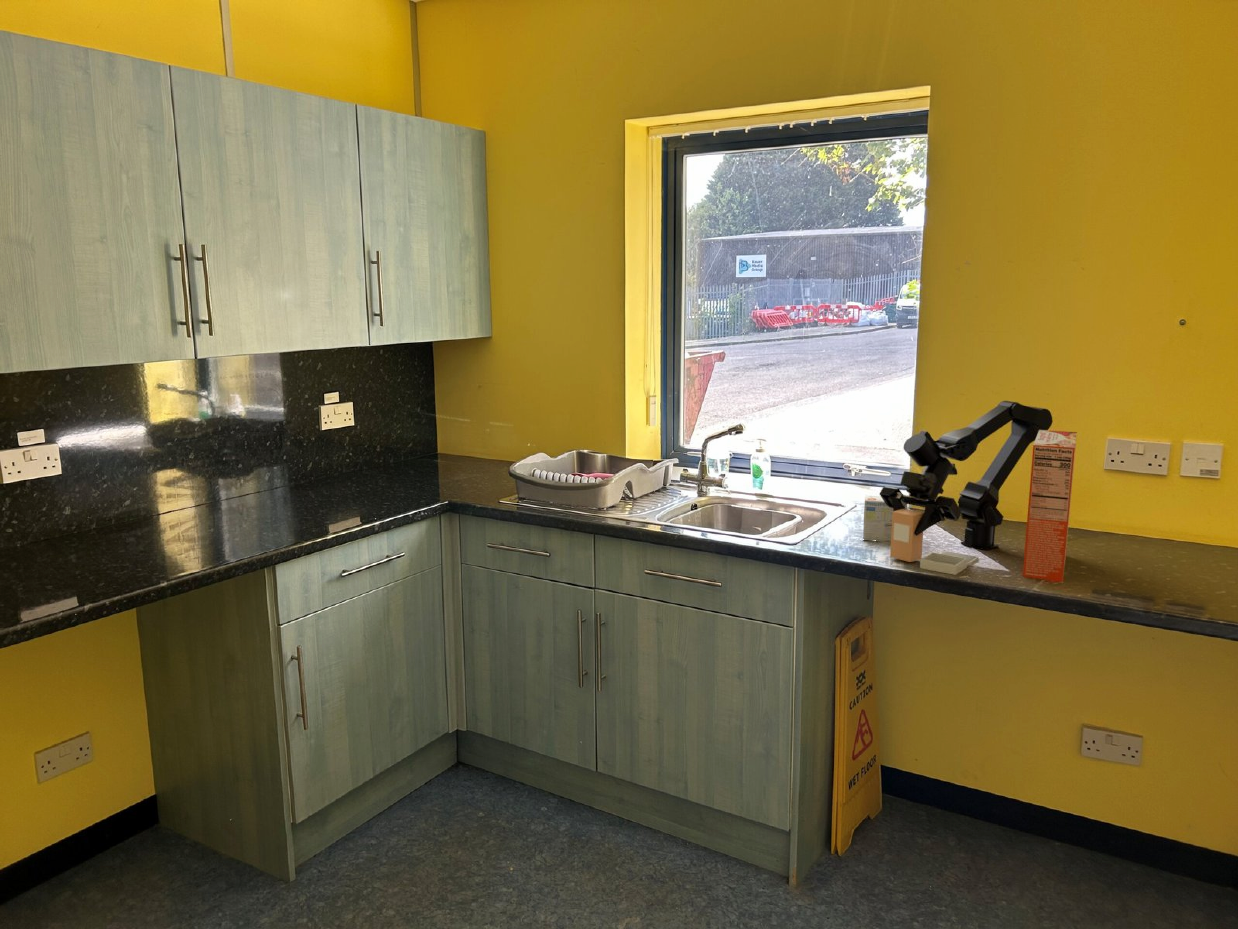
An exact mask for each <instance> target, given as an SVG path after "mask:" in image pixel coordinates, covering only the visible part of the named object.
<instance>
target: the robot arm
mask: <svg viewBox="0 0 1238 929" xmlns="http://www.w3.org/2000/svg"><path fill="white" fill-rule="evenodd" d="M1010 422H1011V423H1010ZM1009 423H1010V428H1011V431H1010V435H1009V436H1008V438H1007V439H1006V441H1005V442H1004V444H1003V445H1002V447H1001V448H1000V449H999V452H998V453H997V454H996V456H995V457H994V458H993V460H992V461H991V463H990V465H989V467H988V468H987V469H986V471H985V472H984V473H983V476H982V477H981V479H980V480H978V481H976V482H973V481H967V483H966V484H965V487H964V488H963V490H962V491H961V492H959V498H958V501H957V502H956V500H955V498H954V497H948V496H943V493H944V491H945V490H944V488H943V486H944V485H945V483H946V481H947V479H948V477H949V475H950V476H951V475H952V476H953V475H954V476H957V475H958V469H957V467H956V464H955V463H952V462H951V461H950V460H955V461H958V462H964V461H966V460H967V459H969V458H970V457H971V456H972V455H973V454H974V453H975V452H976V451H977V448H978V447H979V444H981V442H982V441H984V440H985V439H986V438H987V439H988V438H989V437H990V436H991V435H993V434H994V433H996V432H997V431H998V430H1000V429H1002V428H1003V427H1004V426H1006V425H1007V424H1009ZM1052 424H1053V416H1052V413H1051V411H1050V410H1049V409H1047V408H1043V407H1037V406H1032V405H1031V406H1029V405H1024V404H1021V403H1019V402H1017V401H1011V400H1003V401H1000V402H999V403H997V405H996V406H995V407H994V408H992V409H991V410H989V411H988V412H986V413H984V414H983V415H982V416H980V417H979V418H977V419H976V420H975V421H973V422H972V423H970V424H969V425H967V426H965V427H963V428H958V429H954V430H951V431H949V432H946V433H944V434H943V435H941V436H940V437H939V438H938V439H934V438H933V437H932V436H931V434H930V432H929V431H927V430H920V431H919V433H917V434H914V435H912V436H910V437H909V438H907V439H906V440H905V441H904V444H903V450H904V452H905V453H906V454H907V455H908V456H909V457H910V459H911V460H912V461H913V462H914V463H915V464H916V465H917V467H921V468H923V469H922V471H921V473H918V472H913V471H912V472H911V471H906V470H904V471H903V473H902V476H901V477H902V478H901V480H900V483H899V484H900V485H902V486H904V487H906V488H905V491H906V492H907V493H909V495H907V494H903V492H902V491H901V490H900V488H899V487H893V486H889V485H888V486H887V485H885V486H883V487H882V488H881V490H880V492H879V496H881V497H882V499H883V500H884V502H885V503H886V505H887V506H888V507H890V508H893V511H897V510H900V509H906V508H905V506H906V504H907V505H911V506H914V507H915V506H916V507H921V508H924V512H923V513H924V514H923V516H922V518H921V520H920V521H919V523H918V525H917V527H916V529H915V532H914V534H915V535H916V536H917V535H919V534H920V533H922V532H923V533H924V532H926V530H928V529H929V528H932V527H933V526H934V525H937V524H939V523H940V522H945V521H946V520H950V521H955V522H957V521H959V519H960V517H961V519H962V520H965V521H966V527H965V528H964V540H963V541H960V544H961V545H964V546H966V547H969V548H972V549H975V550H980V551H981V550H988V549H996V548H997V549H998V548H999V544H996V543H995V535H996V527H997V526H1001V525H1002V523H1003V520H1004V515H1003V514H1002V513H1001V512H1000V510H999V509H998V508H997V506H998V504H999V501H1000V497H999V496H1000V489H1001V488H1002V486H1003V485H1004V483H1005V481H1006V480H1007V479H1008V477H1009V476H1010V474H1011V473H1012V472H1013V470H1014V468H1015V467H1016V465H1017V464H1018V462H1019V461H1020V459H1021V458H1022V456H1023V455H1024V453H1025V451H1026V450H1027V449H1028V447H1029V446H1030V445H1031V443H1034V442H1035V439H1036V437H1037V434H1038V431H1039V430H1048V431H1049V430H1050V428H1051V426H1052ZM949 459H950V460H949ZM939 494H940V495H939Z"/></svg>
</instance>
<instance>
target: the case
mask: <svg viewBox="0 0 1238 929" xmlns="http://www.w3.org/2000/svg"><path fill="white" fill-rule="evenodd" d="M967 567H968V566H967V558H962V557H956V556H951V555H945V554H940V553H938V552H932V551H931V552H930V553H929V554H927V555H924V556H922V558H921V559H920V564H919V569H922V570H928V571H932V572H939V573H942V574H948V575H954V576H956V575H958V574H959V573H961V572H962V571H964V570H965V569H967Z"/></svg>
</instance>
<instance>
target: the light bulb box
mask: <svg viewBox="0 0 1238 929" xmlns="http://www.w3.org/2000/svg"><path fill="white" fill-rule="evenodd" d="M864 497H865V498H864V502H863V503H864V506H863V530H862V531H863V532H862V533H863V535H862V540H863V539H864V540H876V541H883V542H891V531H892V512H893V508H890V507H888V506H887V505H886V503H885V502H884V500H883V499H882V497H881V496H880V495H867V494H866V495H865V496H864ZM908 506H909V505H908V504H906V506H905V508H906V509H908ZM876 541H875V542H876Z"/></svg>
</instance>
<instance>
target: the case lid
mask: <svg viewBox="0 0 1238 929" xmlns="http://www.w3.org/2000/svg"><path fill="white" fill-rule="evenodd" d="M939 554H945V555H951V556H956V557H962V558H967V567H970V566H971V565H973V564H974V563H975V562H977V561H978V560H979V559H980V558H979V556H976V555H971V554H966V553H965V554H964V553H959V552H954V551H947V550H943V551H942V552H940V553H939Z"/></svg>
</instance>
